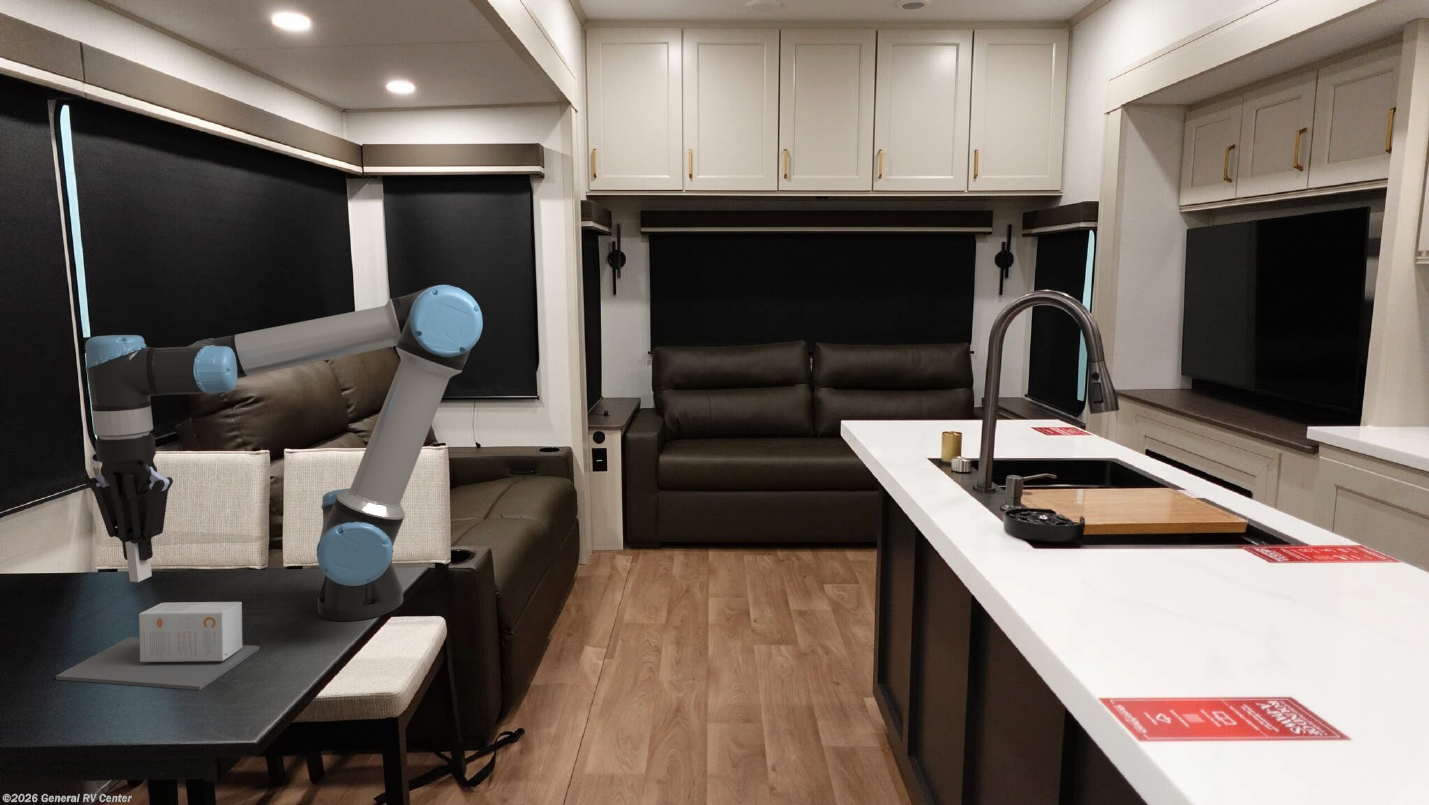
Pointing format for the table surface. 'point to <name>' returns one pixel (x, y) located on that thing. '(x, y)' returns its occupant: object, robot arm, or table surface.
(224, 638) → the small box
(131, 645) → the mat
